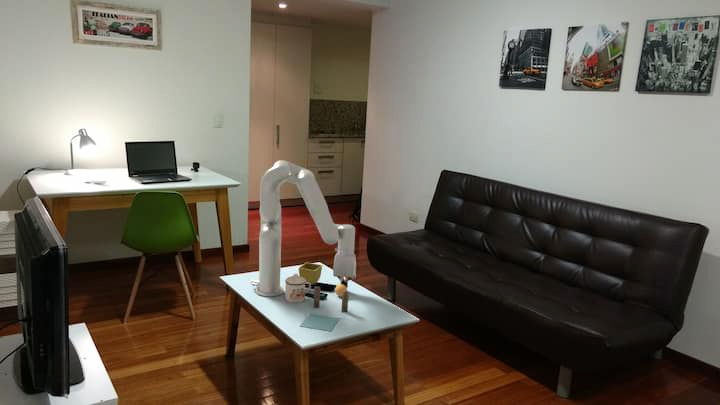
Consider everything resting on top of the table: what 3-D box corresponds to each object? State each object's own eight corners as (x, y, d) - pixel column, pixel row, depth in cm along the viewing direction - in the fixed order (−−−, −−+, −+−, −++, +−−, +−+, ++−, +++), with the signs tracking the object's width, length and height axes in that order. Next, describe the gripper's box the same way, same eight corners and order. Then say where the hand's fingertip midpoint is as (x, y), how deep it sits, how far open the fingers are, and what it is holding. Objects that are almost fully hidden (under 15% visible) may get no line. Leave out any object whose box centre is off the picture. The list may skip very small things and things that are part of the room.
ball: (333, 297, 253) (333, 285, 252) (336, 293, 258) (337, 281, 257) (344, 299, 252) (345, 287, 251) (348, 294, 257) (348, 283, 256)
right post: (340, 312, 238) (341, 292, 236) (342, 309, 240) (343, 290, 238) (346, 312, 237) (347, 293, 235) (348, 310, 239) (349, 290, 238)
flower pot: (314, 288, 262) (315, 270, 260) (297, 285, 265) (298, 267, 263) (322, 282, 270) (322, 265, 268) (305, 279, 273) (306, 262, 271)
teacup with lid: (289, 304, 243) (290, 279, 240) (281, 297, 250) (282, 272, 248) (314, 300, 249) (315, 275, 246) (306, 293, 256) (306, 269, 254)
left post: (312, 307, 240) (313, 288, 239) (314, 305, 243) (315, 286, 241) (318, 308, 240) (319, 288, 238) (320, 306, 242) (321, 286, 240)
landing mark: (299, 326, 222) (299, 325, 222) (310, 313, 234) (310, 313, 234) (330, 331, 219) (330, 330, 219) (340, 318, 231) (340, 317, 231)
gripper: (327, 251, 254) (326, 289, 258) (359, 255, 251) (357, 294, 255) (332, 247, 261) (330, 284, 265) (363, 251, 258) (361, 288, 262)
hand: (343, 289), depth 260 cm, fingers closed
